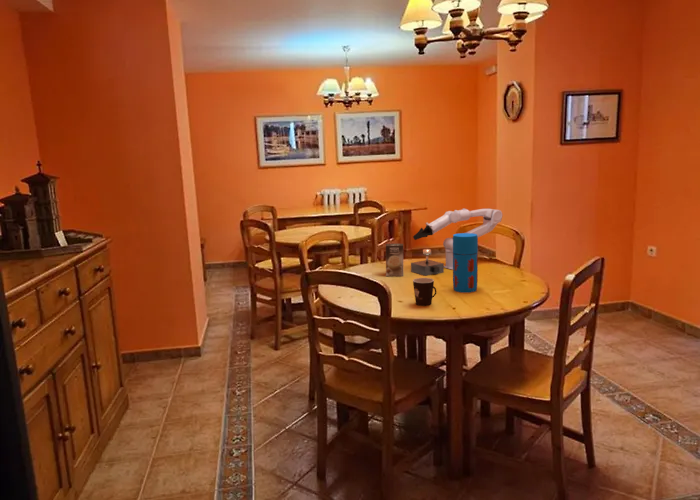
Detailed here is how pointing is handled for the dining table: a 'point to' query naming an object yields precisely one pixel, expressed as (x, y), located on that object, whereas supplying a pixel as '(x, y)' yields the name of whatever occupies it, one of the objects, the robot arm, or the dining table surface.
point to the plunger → (426, 252)
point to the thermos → (465, 262)
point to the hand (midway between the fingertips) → (416, 237)
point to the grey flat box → (427, 267)
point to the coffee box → (394, 259)
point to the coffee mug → (423, 291)
